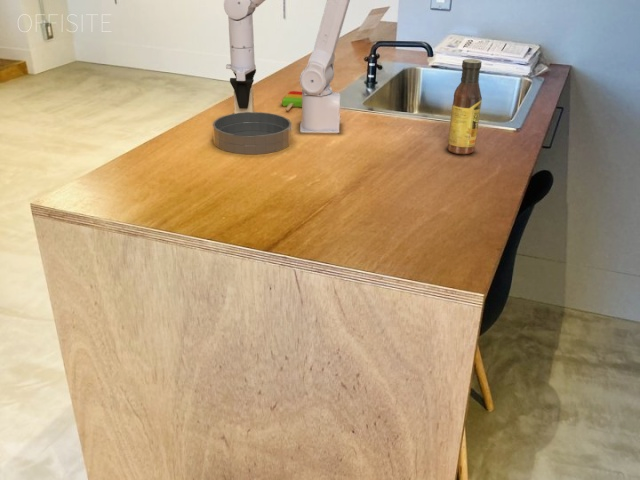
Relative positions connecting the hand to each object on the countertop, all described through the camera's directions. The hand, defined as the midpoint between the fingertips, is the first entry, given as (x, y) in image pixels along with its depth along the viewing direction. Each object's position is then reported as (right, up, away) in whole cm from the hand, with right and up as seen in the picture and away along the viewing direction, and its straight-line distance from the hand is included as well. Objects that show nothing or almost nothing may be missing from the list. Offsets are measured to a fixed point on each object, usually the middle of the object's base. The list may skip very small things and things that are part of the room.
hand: (244, 103), depth 170 cm
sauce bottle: (+51, -15, -13) cm, 55 cm away
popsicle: (+12, +4, +15) cm, 20 cm away
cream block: (0, -4, +3) cm, 5 cm away
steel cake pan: (+3, -13, -11) cm, 17 cm away
